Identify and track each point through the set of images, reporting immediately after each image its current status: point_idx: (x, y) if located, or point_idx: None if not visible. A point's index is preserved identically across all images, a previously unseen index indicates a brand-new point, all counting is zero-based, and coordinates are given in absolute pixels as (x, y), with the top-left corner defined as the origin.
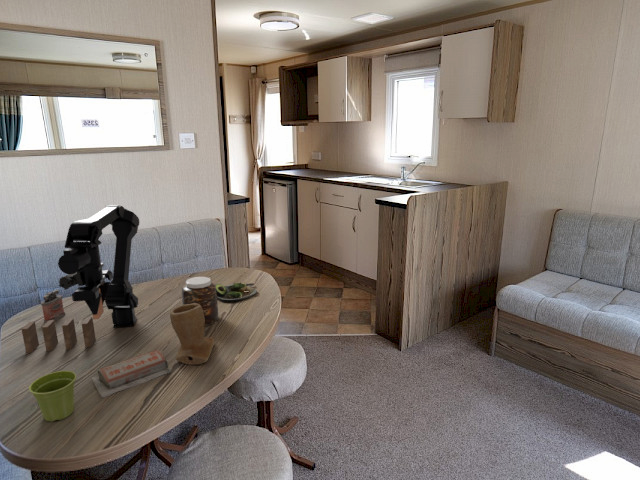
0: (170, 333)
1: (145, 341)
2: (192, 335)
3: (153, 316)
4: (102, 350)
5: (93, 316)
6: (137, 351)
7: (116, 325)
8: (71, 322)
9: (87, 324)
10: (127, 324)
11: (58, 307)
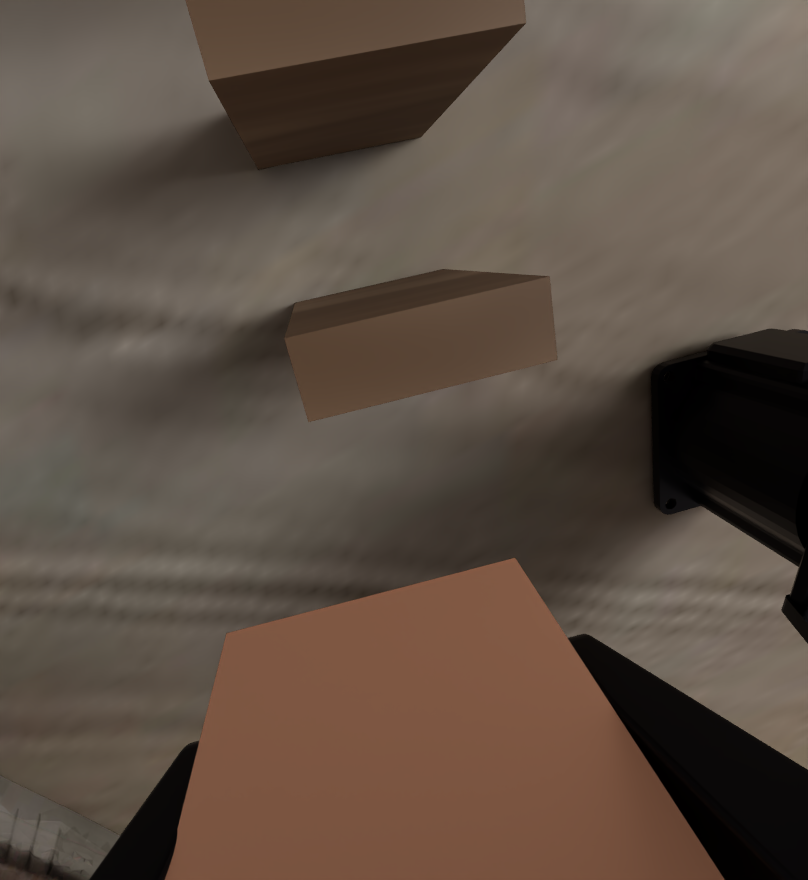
0: None
1: None
2: None
3: (792, 566)
4: (252, 485)
5: (217, 689)
6: None
7: (677, 387)
8: (402, 57)
9: (312, 415)
10: (676, 471)
11: None
